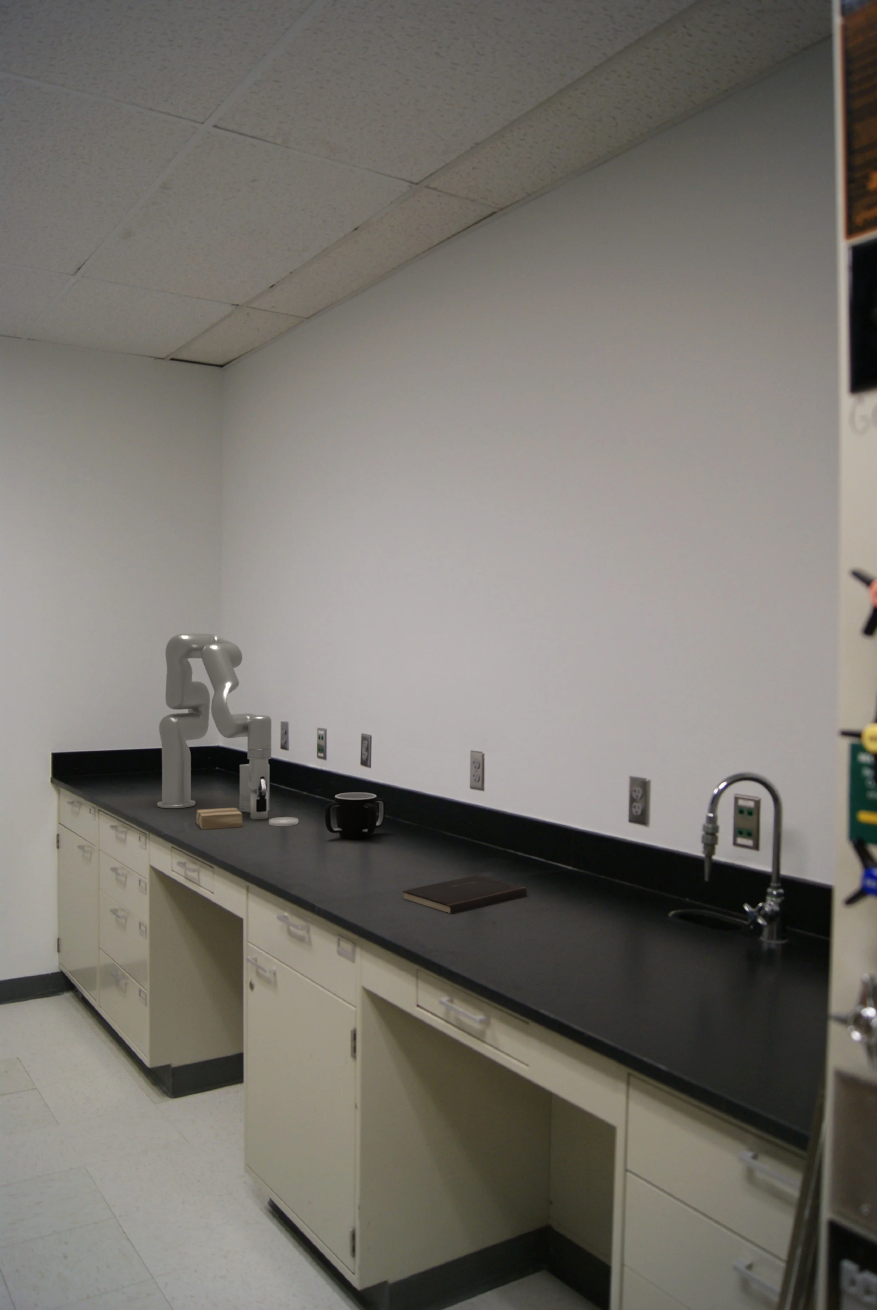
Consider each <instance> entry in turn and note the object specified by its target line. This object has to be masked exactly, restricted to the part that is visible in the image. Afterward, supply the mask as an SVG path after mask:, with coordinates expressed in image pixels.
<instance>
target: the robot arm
mask: <svg viewBox="0 0 877 1310" xmlns="http://www.w3.org/2000/svg"><path fill="white" fill-rule="evenodd" d="M188 659H201V660H202V663H203V666H204V668H205V671H206V674H207V676H208V679H209V681H210V684H211V686H212V688H213V692H214V693H213V695H212V699H211V696H210V694H211V693H210V691H209V688H208V686H207V685H206V684H205V683H204V682H202V681H193V668H192V665H191V662H190V660H188ZM242 661H243V654H242V651H241V649H240V648H239V646H237V644H236V643H233V642H231V641H229V640H227V639H224V638H223V637H221V636H219V635H216V634H214V633H213V634H212V633H195V632H193V633H192V632H191V633H188V632H187V633H186V632H185V633H178V634H176V635H174V636H172V637H170V638H169V640H168V641H167V644H166V646H165V662H166V675H165V676H166V678H165V679H166V680H165V704H166V706H167V707H168V708H169V709H172V710H180V711H181V710H187V712H178V713H177V712H176V713H170V714H167V715H166V716H164V717H162V718H161V720H160V722H159V725H158V731H159V736H160V741H161V771H162V772H161V774H162V775H161V784H162V785H161V800H160V801H158V802H157V803H156V804H157V807H158V808H164V809H183V808H189V807H193V806H195V805H196V801H195V800H193V799H191V796H192V795H191V791H192V789H191V787H192V784H191V783H192V782H191V781H192V780H191V779H192V775H191V774H192V773H191V771H192V765H191V762H192V759H191V758H192V755H191V751H190V750H191V749H190V747H189V745H188V743H187V742H186V741H194V740H200V739H202V738H204V737H205V736H206V734H207V733H208V730H209V726H210V725H209V724H210V723H209V721H210V711H211V717H212V719H213V722H214V724H215V727H216V729H217V731H218V733H219V734H220V735H221V736H222V737H223V738H226V739H236V738H246V737H247V760H249V762H248V764H249V777H248V786H249V788H251V789H252V792H254V791H255V790H256V789H257V799H256V811H257V812H266V811H267V799H266V790H267V789H268V786H269V787H270V764H269V760H270V759H271V760H272V718H271V717H270V716H269V715H263V714H261V715H258V714H253V713H234V714H232V713H231V711H230V708H229V706H228V702H227V700H228V695H229V694H230V693H232V692H234V691H235V690H237V688H238V687H239V684H240V680H239V679H238V676H237V674H236V671H235V668H237V667H239V666H240V665H241V664H242ZM210 705H211V706H210ZM210 707H211V708H210ZM268 764H269V765H268ZM268 766H269V768H268ZM258 788H261V789H258ZM259 792H260V793H259Z"/></svg>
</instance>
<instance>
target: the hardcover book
mask: <svg viewBox="0 0 877 1310" xmlns="http://www.w3.org/2000/svg"><path fill="white" fill-rule="evenodd" d="M401 891H402V893H403V894H404V895H403V897H404V898H403V899H404V900H407V901H410V902H414V903H416V904H420V905H422V906H426V907H429V908H432V909H436V910H439V911H441V912H445V913H447V912H448V914H450V915H452V914H451V913H453V914H456V913H455V912H457V913H461V912H464V911H468V910H473V908H474V909H478V908H481V907H480V906H482V907H485V906H484V905H486V906H489V905H488V904H490V905H493V904H492V903H494V904H498V903H497V902H499V903H502V902H501V901H503V902H505V901H504V900H507V901H509V900H508V899H511V900H514V899H513V898H515V899H518V898H517V897H519V898H522V897H521V896H523V897H526V896H525V895H528V893H527V892H528V890H527V888H526V887H525V886H521V885H517V884H513V883H510V882H505V881H503V880H500V879H495V878H491V877H489V876H483V875H480V874H475V875H472V876H471V875H470V876H467V877H465V876H464V877H462V878H461V877H460V878H456V879H452V880H448V881H442V882H438V883H432V884H428V885H422V886H418V887H414V888H408V889H404V890H401ZM477 907H478V908H477Z"/></svg>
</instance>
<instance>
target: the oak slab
mask: <svg viewBox="0 0 877 1310" xmlns="http://www.w3.org/2000/svg"><path fill="white" fill-rule="evenodd" d="M196 824H197V825H198V826H199V827H200V828H201V830H212V829H214V830H216V829H227V828H228V829H230V828H243V812H242V811H239V809H238V808H237V807H222V808H221V807H220V808H205V809H204V808H203V809H196Z"/></svg>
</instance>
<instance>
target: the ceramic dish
mask: <svg viewBox="0 0 877 1310" xmlns="http://www.w3.org/2000/svg"><path fill="white" fill-rule="evenodd" d="M298 824H299V819H298V818H297V817H292V816H283V817H282V816H280V817H272V818H270V819H268V825H269V826H272V827H291V826H297V825H298Z"/></svg>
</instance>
